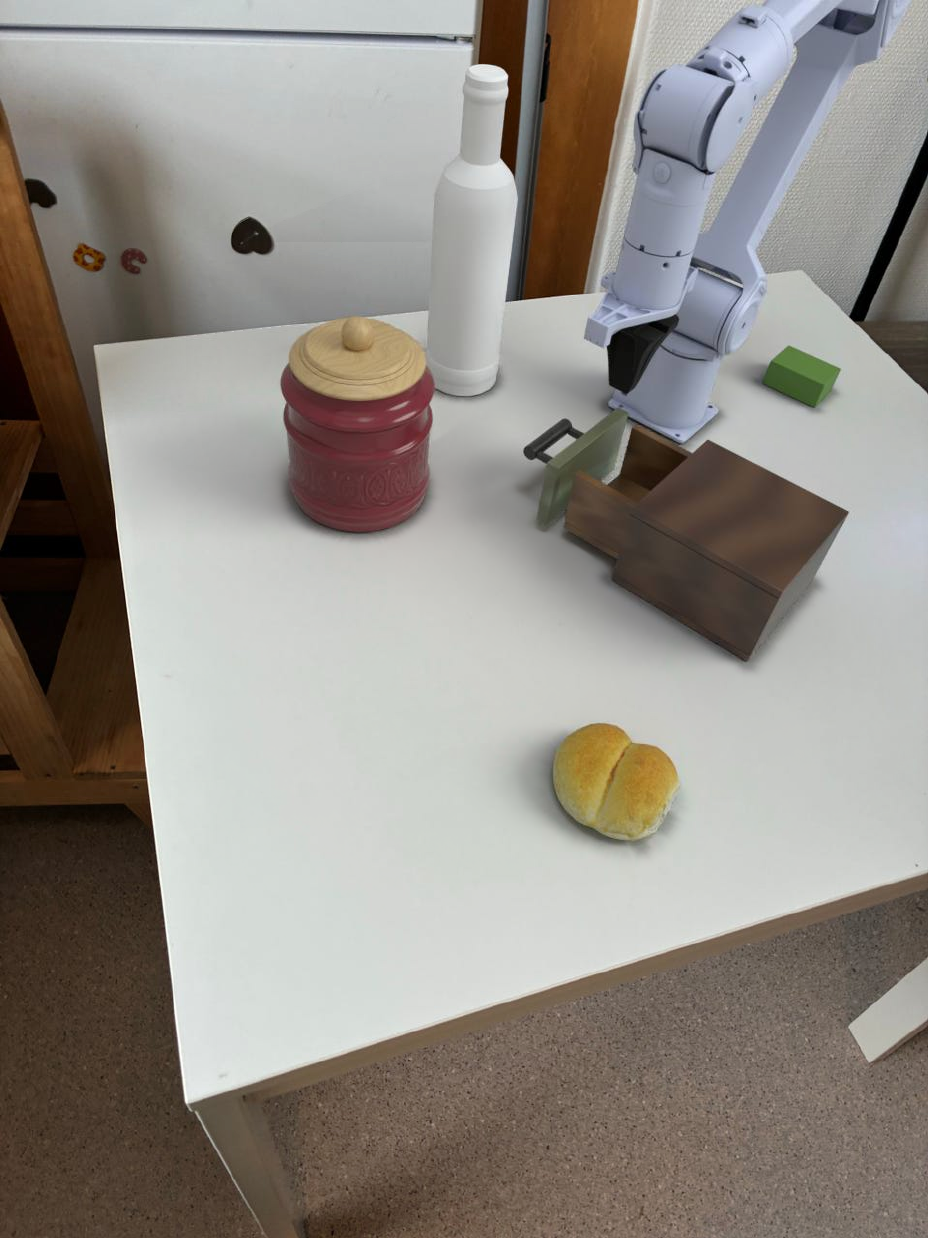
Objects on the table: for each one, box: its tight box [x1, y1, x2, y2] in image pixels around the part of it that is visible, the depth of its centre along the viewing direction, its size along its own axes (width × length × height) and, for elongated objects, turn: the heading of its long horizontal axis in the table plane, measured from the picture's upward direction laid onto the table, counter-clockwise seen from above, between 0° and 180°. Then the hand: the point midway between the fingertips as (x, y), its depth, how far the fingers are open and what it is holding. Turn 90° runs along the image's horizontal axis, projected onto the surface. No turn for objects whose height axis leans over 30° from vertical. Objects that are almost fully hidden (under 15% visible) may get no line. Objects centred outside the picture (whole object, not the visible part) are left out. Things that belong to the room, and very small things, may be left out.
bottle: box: [424, 63, 519, 397], centre depth 87 cm, size 8×8×30 cm
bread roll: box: [552, 722, 682, 842], centre depth 64 cm, size 8×9×4 cm
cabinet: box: [611, 439, 850, 662], centre depth 77 cm, size 14×13×9 cm
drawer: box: [522, 407, 693, 560], centre depth 82 cm, size 17×11×7 cm
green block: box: [762, 345, 842, 408], centre depth 101 cm, size 6×4×3 cm
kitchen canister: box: [279, 315, 436, 533], centre depth 78 cm, size 13×13×18 cm
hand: (621, 386), depth 82 cm, fingers closed
